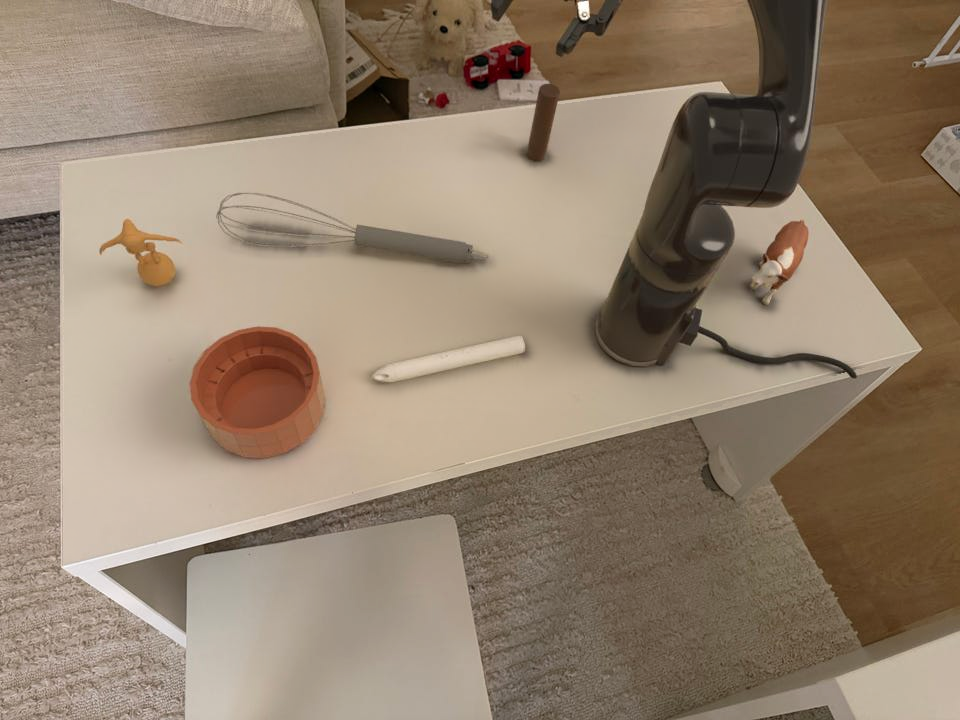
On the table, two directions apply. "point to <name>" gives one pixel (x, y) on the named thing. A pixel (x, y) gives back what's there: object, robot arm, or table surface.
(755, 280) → the bull figurine
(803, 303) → the table surface
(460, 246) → the kitchen whisk
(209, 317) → the table surface
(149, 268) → the figurine
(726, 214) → the robot arm
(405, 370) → the marker
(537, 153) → the stirring stick
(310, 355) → the bowl
